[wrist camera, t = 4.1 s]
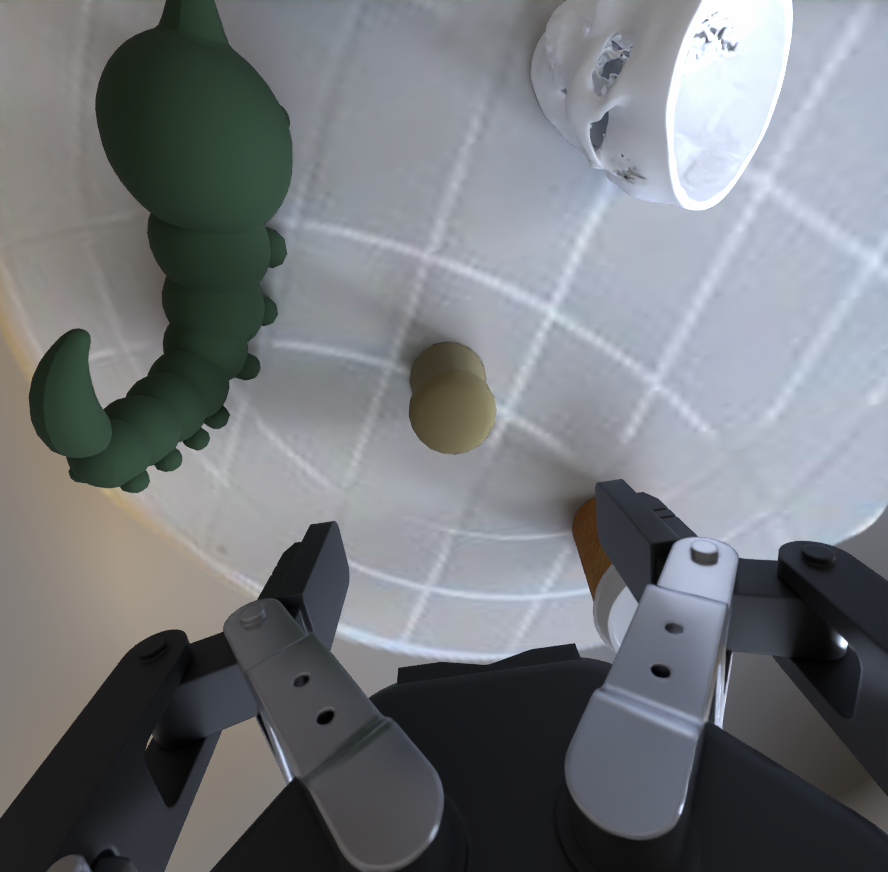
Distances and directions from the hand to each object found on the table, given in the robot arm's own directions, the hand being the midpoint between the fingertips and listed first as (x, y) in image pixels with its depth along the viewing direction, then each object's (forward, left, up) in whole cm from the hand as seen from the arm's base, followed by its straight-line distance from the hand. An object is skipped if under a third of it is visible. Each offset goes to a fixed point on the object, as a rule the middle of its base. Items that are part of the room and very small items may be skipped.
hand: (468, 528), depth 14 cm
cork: (0, 0, -24) cm, 24 cm away
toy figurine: (+13, -12, -24) cm, 29 cm away
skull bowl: (-15, -16, -24) cm, 32 cm away
